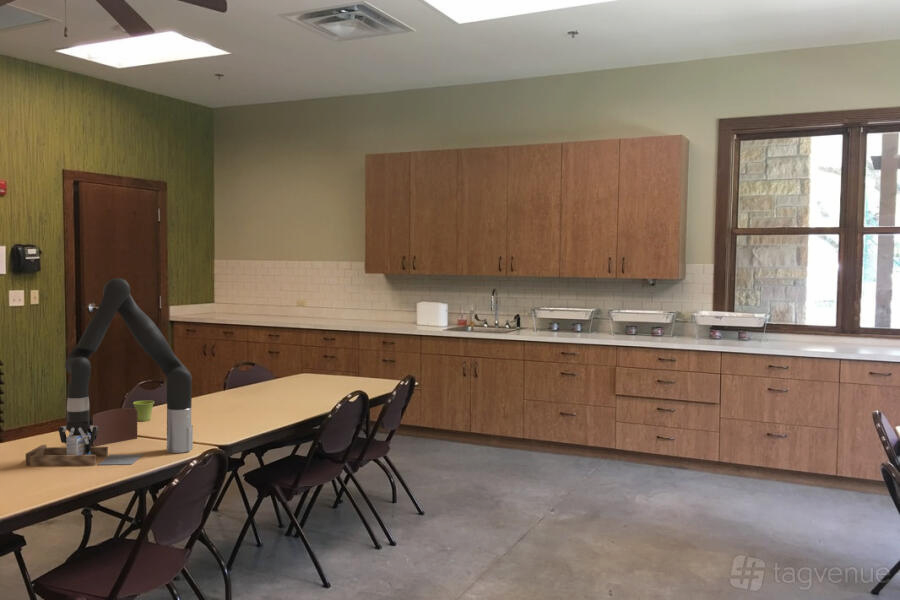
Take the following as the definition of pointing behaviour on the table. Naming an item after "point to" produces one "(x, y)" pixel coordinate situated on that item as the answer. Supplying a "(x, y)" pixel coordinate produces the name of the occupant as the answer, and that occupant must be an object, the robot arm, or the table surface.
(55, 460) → the frame
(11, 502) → the table surface
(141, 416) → the plant pot
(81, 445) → the medicine box
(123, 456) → the slate mat
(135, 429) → the letter holder
